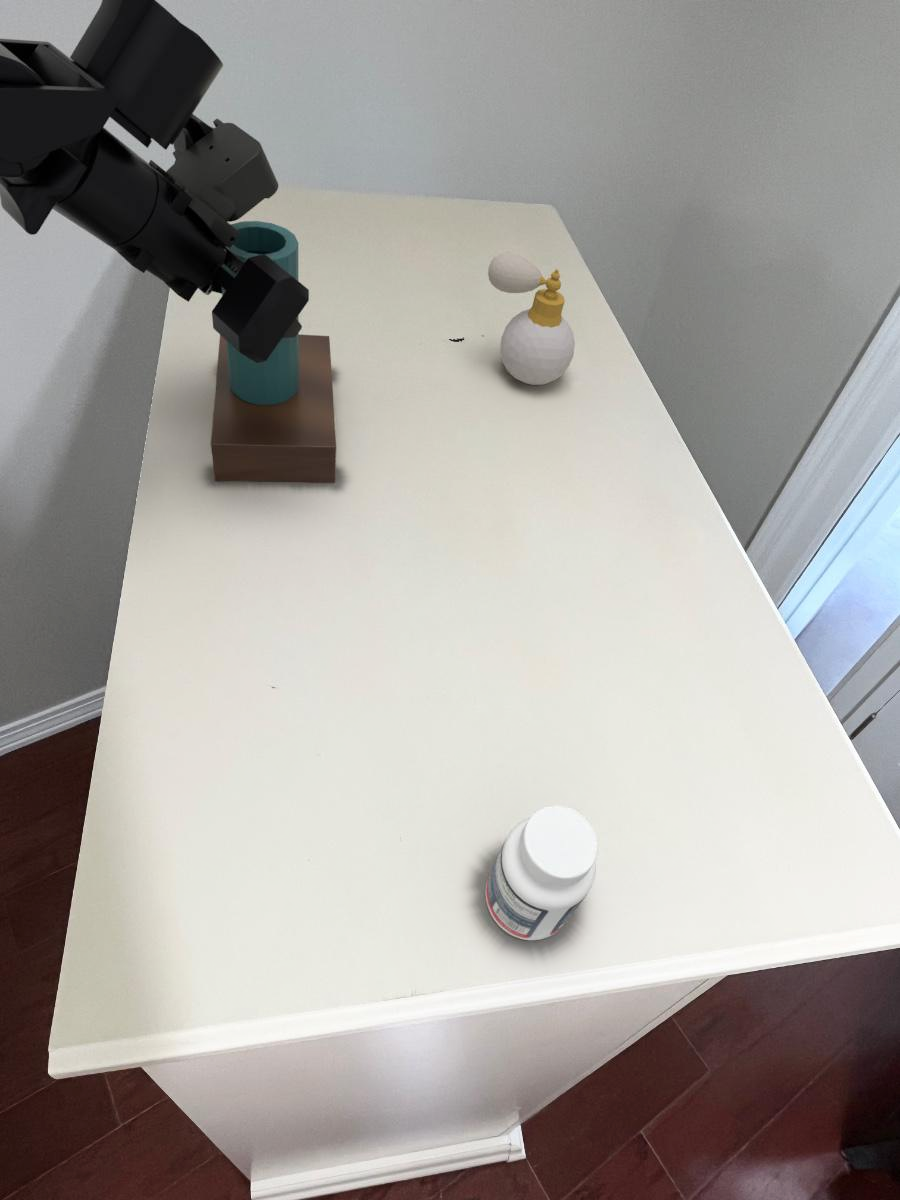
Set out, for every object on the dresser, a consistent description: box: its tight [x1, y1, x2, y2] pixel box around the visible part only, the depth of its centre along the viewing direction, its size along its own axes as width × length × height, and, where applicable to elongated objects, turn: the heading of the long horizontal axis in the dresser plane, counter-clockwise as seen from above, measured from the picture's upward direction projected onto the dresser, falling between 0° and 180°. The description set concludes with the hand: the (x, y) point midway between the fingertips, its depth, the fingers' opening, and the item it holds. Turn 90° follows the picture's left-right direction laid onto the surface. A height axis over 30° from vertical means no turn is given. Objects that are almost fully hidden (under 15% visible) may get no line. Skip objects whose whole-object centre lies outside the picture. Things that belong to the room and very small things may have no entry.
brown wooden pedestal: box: [210, 334, 337, 484], centre depth 71 cm, size 16×10×4 cm, turn 7°
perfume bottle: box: [487, 252, 576, 386], centre depth 78 cm, size 8×10×12 cm
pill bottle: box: [485, 804, 599, 941], centre depth 45 cm, size 5×5×9 cm
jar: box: [221, 220, 300, 405], centre depth 64 cm, size 6×6×13 cm
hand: (275, 312), depth 65 cm, fingers closed on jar, 6 cm apart
